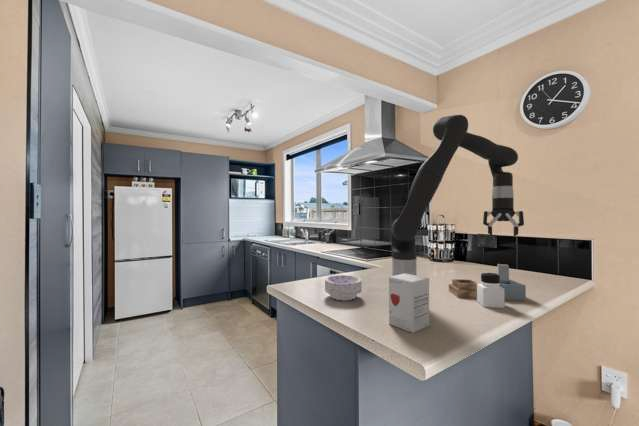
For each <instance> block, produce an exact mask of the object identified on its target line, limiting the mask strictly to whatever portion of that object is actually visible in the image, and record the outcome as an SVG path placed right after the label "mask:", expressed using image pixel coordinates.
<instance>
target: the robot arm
mask: <svg viewBox="0 0 639 426" xmlns="http://www.w3.org/2000/svg"><path fill="white" fill-rule="evenodd" d="M468 129H469V120H468V118H467V117H466V115H463V114H452V115H449V116H448V115H447V116H443V117H440V118H438V119H437V120H436V121H435V122H434V123H433V127H432V131H433V132H432V134H433V135H434V137H435V139H437V140H439V141H440V144H439V145H438V147H437V148H436V149H435V151H433V153H432V154H431V155H430V156H429V157H428V158H427V159H426V160H425V161H424V162H423V163H422V164H421V165H420V167H419V168H418V171H417V172H416V175H415V176H414V179H413V180H412V181H413V182H412V184H411V187H410V190H409V194H408V197H407V201H406V204H405V205H404V208H403V209H402V211H401V213H400V215H399V216H398V218H397V219H395V220H394V221H393V222H392V225H391V229H390V233H391V234H390V236H391V240H390V241H391V276H395V275H400V274H404V273H406V274H411V275H417V273H418V272H417V267H418V266H417V263H418V261H417V260H418V259H417V257H418V256H417V249H416V248H417V247H416V236H417V234H418V232H419V228H420V225H421V223H422V219H423V217H424V215H425V212H426V210H427V208H428V206H429V204H430V203H431V201H432V199H433V197H434V196H435V194H436V192H437V190H438V189H439V186H440V184H441V183H442V180H443V177H444V175H445V173H446V170H447V168H448V167H449V165H450V163H451V161H452V160H453V159H452V158H453V157H454V156H455V153H456V152H457V150H458V148H459V147H460V148H462V149H465V150H467V151H468V152H471V153H473V154H474V155H476V156H477V157H479V158H482V159H484V160H487V162H488V167H489V170H490V173H491V175H492V192H491V193H492V195H491V198H492V200H491V205H492V207H491V208H492V209H491V211H487V210H485V211H484V212H483V218H482V220H483V221H482V224H483V225H484V226H486V227H487V234H488V235H489V236H493V225H494V224H495V223H496V222H510V223H511V225H513V237H517V236H518V235H519V227H523V226H524V225H525V221H524V220H525V219H524V217H525V216H524V211H522V210H518V211H515V209H514V201H515V199H514V184H513V182H514V181H513V173H512V172H509V171H504V170H503V168H505V167H511V166H513V165H515V164H516V163H517V162H518V159H519V155H518V152H517V151H516V150H515V149H513V148H512V147H509V146H505V145H503V144H498V143H495V142H493V141H492V140H490V139H488V138H487V137H484V136H481V135H477V134H474V133H470V132H468ZM490 215H491V216H492V217H493V218H492V219H491V220H490V221H489V222H488V217H489V216H490ZM515 215H516V217H518V222H516V220H515V219H514V218H513V217H514V216H515ZM417 276H418V275H417Z"/></svg>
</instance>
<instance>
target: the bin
mask: <svg viewBox="0 0 639 426" xmlns="http://www.w3.org/2000/svg"><path fill="white" fill-rule="evenodd" d="M499 286H500V287H502V288H504V289H505V301H506V300H507V301H512V300H513V301H526V299H527V298H526V297H527V296H526V295H527V294H526V291H527V289H526V288H527V287H526V286H527V285H526V284H523V283H522V282H519V281H516V280H514V279H511V278H509V284H500V285H499Z"/></svg>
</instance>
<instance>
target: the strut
mask: <svg viewBox="0 0 639 426" xmlns="http://www.w3.org/2000/svg"><path fill="white" fill-rule="evenodd" d="M496 264H497V265H496V266H497V269H496V270H497V273H496V274H498V275H499V276H500V284H509V279H510V266H509V265H508V264H504V263H503V264H501V263H496Z"/></svg>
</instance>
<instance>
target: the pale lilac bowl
mask: <svg viewBox="0 0 639 426" xmlns="http://www.w3.org/2000/svg"><path fill="white" fill-rule="evenodd" d="M362 281H363V280H362V279H361V278H360V277H358V276H357V275H356V276H355V275H349V274H336V275H330V276H327V277H325V279H324V291H325V293H327V294H328V295H329V296H330V298H331V297H332V298H331V299H333V300H335V299H336V301H339V300H342V301H341V302H347V300H349V301H352V299H353V300H355V299H356V298H357V296H358V294H360V293H362Z"/></svg>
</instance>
